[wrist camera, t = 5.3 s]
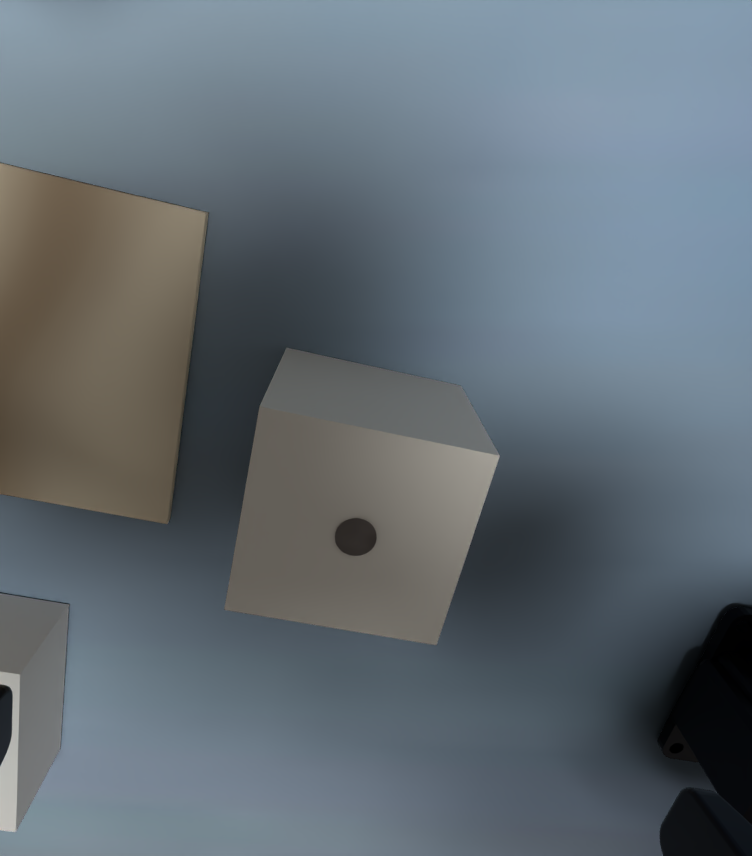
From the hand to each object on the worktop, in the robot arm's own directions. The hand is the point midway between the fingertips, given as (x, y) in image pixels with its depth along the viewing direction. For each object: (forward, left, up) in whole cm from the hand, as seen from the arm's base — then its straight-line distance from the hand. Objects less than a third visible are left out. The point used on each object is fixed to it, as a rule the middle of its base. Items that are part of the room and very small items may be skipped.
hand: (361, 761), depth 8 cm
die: (0, 0, -11) cm, 11 cm away
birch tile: (+10, -1, -10) cm, 14 cm away
